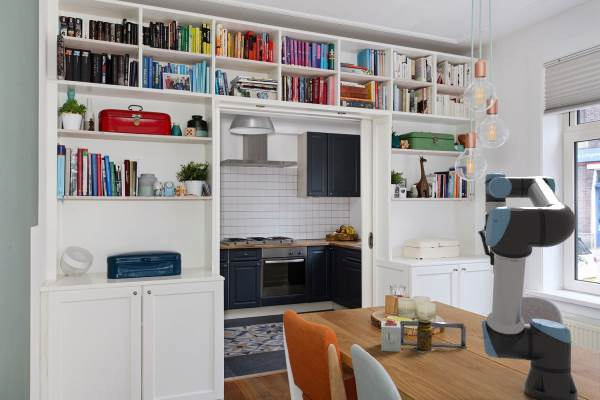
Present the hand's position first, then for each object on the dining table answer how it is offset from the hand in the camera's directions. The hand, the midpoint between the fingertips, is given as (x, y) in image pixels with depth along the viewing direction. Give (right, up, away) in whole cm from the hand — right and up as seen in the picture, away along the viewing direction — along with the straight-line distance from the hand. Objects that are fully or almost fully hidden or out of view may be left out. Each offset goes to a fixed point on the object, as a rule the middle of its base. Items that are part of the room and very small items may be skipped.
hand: (495, 273), depth 185 cm
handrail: (-19, -35, +22) cm, 45 cm away
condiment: (-24, -35, +16) cm, 45 cm away
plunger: (-37, -32, +18) cm, 52 cm away
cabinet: (-37, -35, +18) cm, 54 cm away
